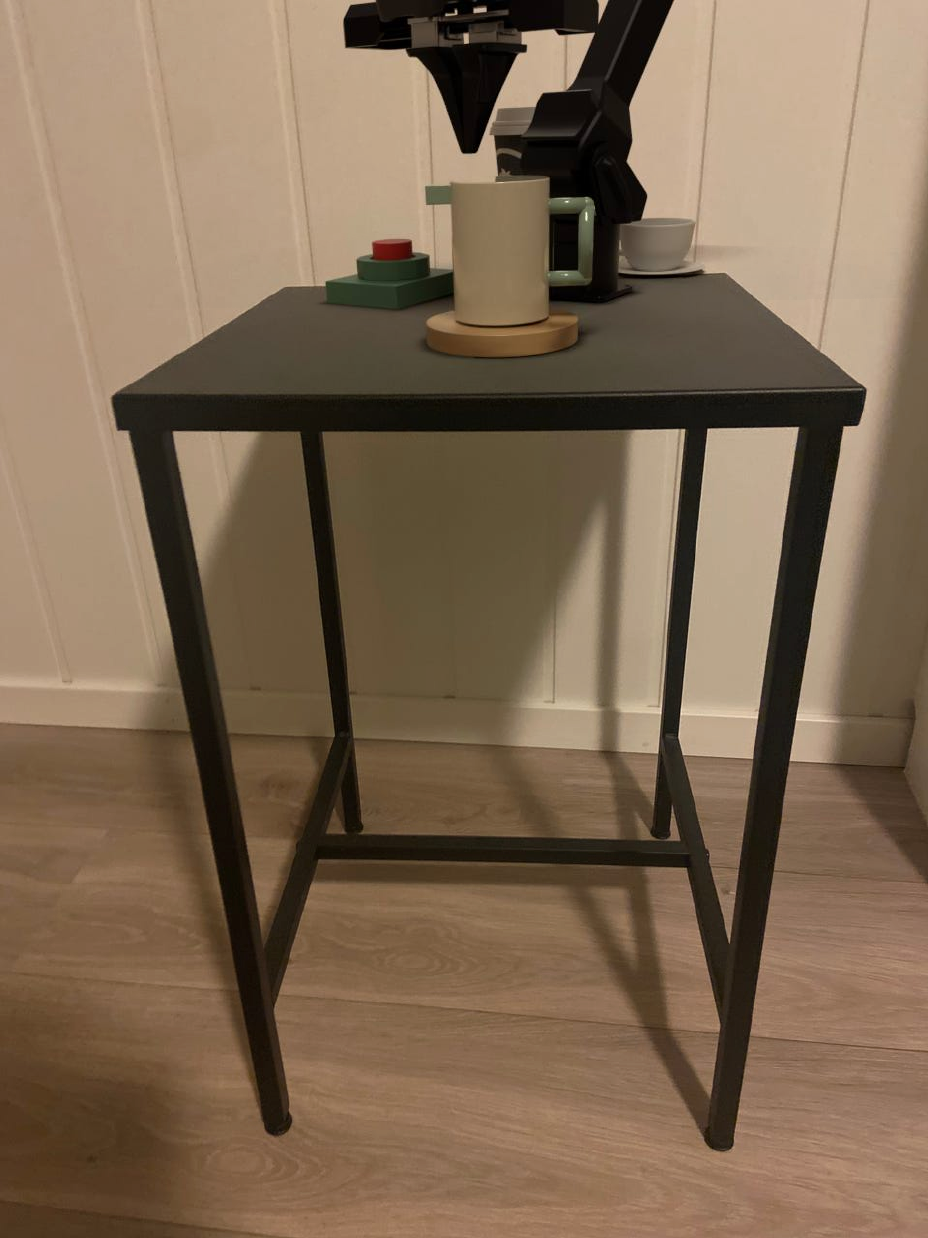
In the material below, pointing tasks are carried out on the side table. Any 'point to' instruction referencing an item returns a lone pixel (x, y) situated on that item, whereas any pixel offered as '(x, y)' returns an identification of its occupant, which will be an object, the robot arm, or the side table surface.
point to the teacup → (657, 246)
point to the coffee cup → (514, 147)
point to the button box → (391, 283)
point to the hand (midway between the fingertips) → (469, 153)
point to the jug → (508, 246)
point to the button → (392, 249)
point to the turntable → (502, 336)
